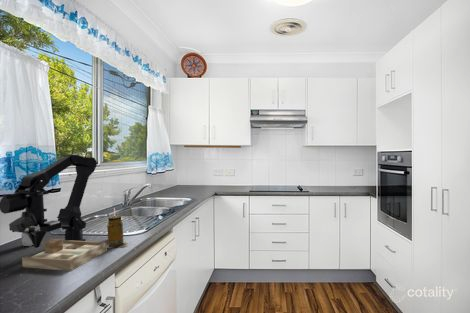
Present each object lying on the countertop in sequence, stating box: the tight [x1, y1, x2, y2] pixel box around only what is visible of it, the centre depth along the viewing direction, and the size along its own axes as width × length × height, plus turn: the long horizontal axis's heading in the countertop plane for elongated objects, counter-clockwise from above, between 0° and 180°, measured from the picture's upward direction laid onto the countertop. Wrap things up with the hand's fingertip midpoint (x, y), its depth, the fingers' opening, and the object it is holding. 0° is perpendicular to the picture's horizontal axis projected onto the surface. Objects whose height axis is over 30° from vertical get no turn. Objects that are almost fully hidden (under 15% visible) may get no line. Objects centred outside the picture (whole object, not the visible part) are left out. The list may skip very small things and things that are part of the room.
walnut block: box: [43, 238, 63, 253], centre depth 102 cm, size 4×4×4 cm
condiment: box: [106, 215, 131, 249], centre depth 114 cm, size 7×8×12 cm
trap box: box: [21, 239, 108, 272], centre depth 101 cm, size 18×20×4 cm
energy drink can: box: [20, 210, 33, 247], centre depth 118 cm, size 6×6×15 cm
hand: (36, 247), depth 104 cm, fingers closed
